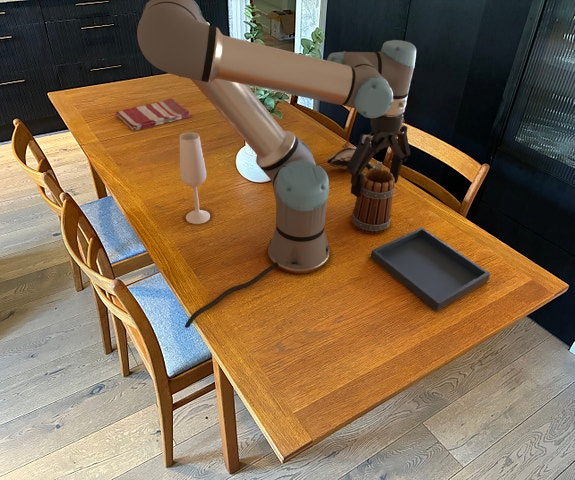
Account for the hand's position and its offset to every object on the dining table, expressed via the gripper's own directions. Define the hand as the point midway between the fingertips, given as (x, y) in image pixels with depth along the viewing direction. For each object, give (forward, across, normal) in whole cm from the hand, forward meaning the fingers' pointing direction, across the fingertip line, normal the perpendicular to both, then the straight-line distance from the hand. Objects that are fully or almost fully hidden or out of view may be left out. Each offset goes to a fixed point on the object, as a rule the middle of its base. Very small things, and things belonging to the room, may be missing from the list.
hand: (374, 187), depth 124 cm
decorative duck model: (+10, +12, +22) cm, 27 cm away
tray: (+10, -2, -24) cm, 26 cm away
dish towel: (+11, -25, +95) cm, 99 cm away
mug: (+10, +1, 0) cm, 10 cm away
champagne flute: (+11, -40, +26) cm, 49 cm away
